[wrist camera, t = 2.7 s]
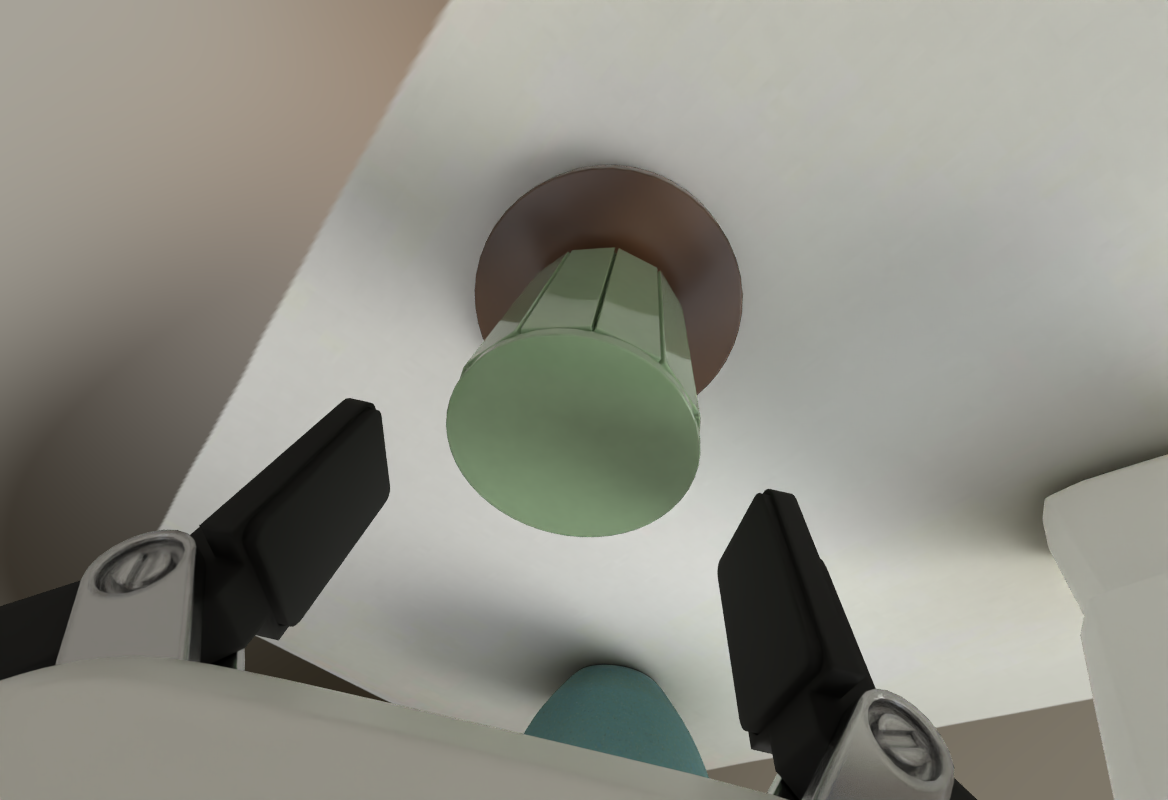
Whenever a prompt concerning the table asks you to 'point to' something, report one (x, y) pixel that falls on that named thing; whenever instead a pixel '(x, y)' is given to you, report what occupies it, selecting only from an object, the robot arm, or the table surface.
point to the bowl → (1121, 612)
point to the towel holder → (632, 223)
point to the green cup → (582, 400)
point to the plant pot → (618, 719)
